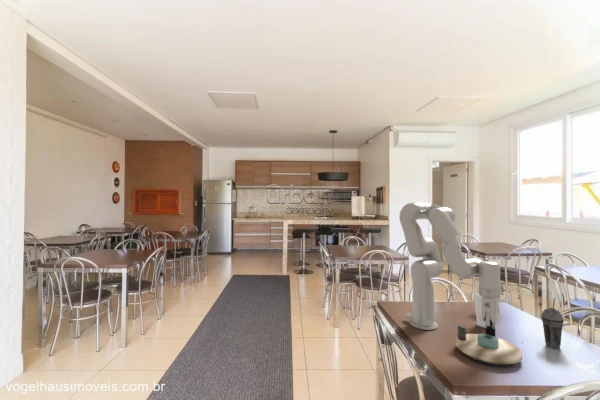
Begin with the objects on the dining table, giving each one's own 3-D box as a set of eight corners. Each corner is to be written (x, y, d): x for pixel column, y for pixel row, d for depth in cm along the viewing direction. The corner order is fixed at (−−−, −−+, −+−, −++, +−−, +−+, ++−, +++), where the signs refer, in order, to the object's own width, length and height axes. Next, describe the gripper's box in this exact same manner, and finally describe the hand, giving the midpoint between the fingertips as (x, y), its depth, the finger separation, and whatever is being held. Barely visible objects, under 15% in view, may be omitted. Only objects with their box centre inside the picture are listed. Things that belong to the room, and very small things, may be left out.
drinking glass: (486, 323, 149) (486, 293, 149) (494, 329, 142) (493, 297, 142) (472, 323, 149) (471, 292, 150) (479, 328, 143) (478, 296, 143)
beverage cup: (536, 343, 127) (535, 295, 128) (552, 342, 128) (551, 295, 128) (552, 351, 120) (551, 300, 120) (569, 350, 121) (568, 300, 121)
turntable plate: (448, 350, 117) (448, 333, 117) (463, 332, 133) (463, 318, 133) (518, 371, 102) (517, 351, 102) (525, 348, 119) (525, 331, 119)
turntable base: (456, 355, 117) (456, 351, 117) (467, 339, 130) (467, 336, 130) (512, 371, 105) (512, 367, 105) (518, 353, 118) (518, 349, 119)
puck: (475, 345, 118) (475, 337, 118) (479, 339, 123) (479, 332, 123) (496, 351, 113) (496, 342, 113) (500, 344, 118) (499, 336, 119)
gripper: (497, 298, 115) (498, 347, 114) (503, 290, 126) (504, 334, 125) (475, 294, 119) (476, 341, 119) (482, 287, 131) (483, 329, 130)
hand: (490, 337), depth 122 cm, fingers closed
